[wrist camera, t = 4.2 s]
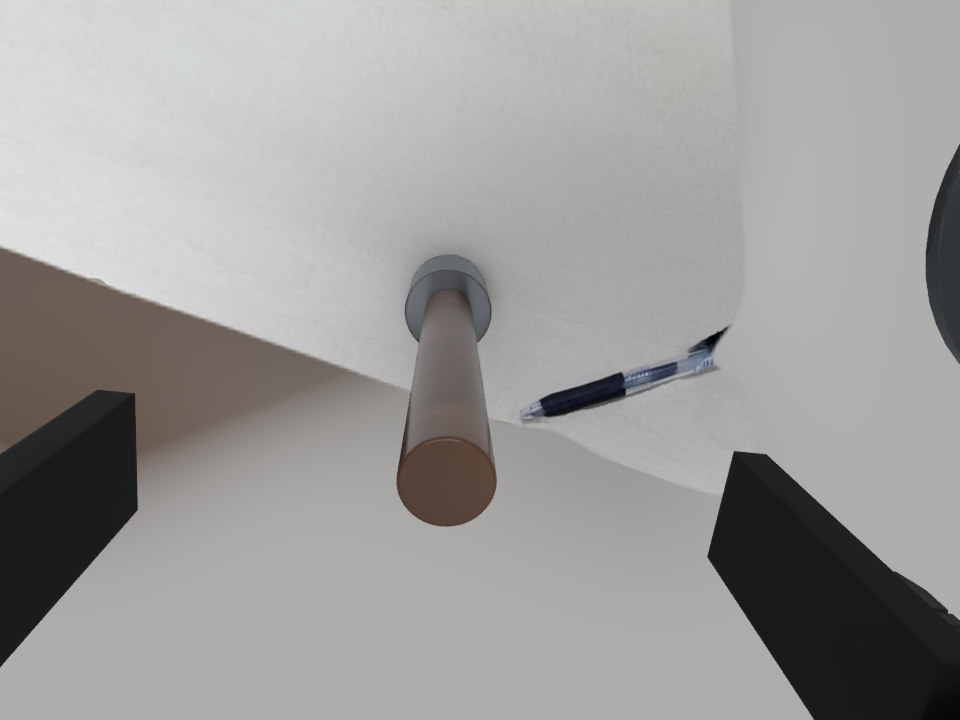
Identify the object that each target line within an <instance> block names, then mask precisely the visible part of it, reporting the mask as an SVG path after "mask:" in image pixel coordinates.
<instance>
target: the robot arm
mask: <svg viewBox="0 0 960 720" xmlns="http://www.w3.org/2000/svg"><path fill="white" fill-rule="evenodd" d="M136 459H137V458H136V416H135V394H134V393H125V392H114V391H103V390H96V391H95V392H93V393H92V394H90V395H89V396H87V397H86V398H84V399H83V400H81V401H80V402H78V403H77V404H75V405H74V406H72V407H71V408H69V409H68V410H66V411H65V412H63V413H62V414H60V415H59V416H57V417H56V418H54V419H53V420H51V421H50V422H48V423H47V424H45V425H44V426H42V427H41V428H39V429H38V430H36V431H34V432H33V433H32V434H30V435H28V436H27V437H25V438H24V439H22V440H21V441H20V442H18V443H17V444H15V445H13V446H12V447H10V448H9V449H7V450H6V451H5V452H3V453H1V454H0V667H1V666H2V665H3V663H4V662H5V661H6V660H7V659H8V658H9V656H10V655H11V654H12V653H13V652H14V651H15V650H16V649H17V647H18V646H19V645H20V644H21V643H22V642H23V641H24V639H25V638H26V637H27V636H28V635H29V634H30V632H31V631H32V630H33V629H34V628H35V626H36V625H38V623H39V622H40V621H41V620H42V619H43V618H44V616H45V615H46V614H47V613H48V612H49V611H50V610H51V608H52V607H53V606H54V605H55V604H56V603H57V601H58V600H59V599H60V598H61V597H62V596H63V595H64V594H65V592H66V591H67V590H68V589H69V588H70V587H71V586H72V585H73V583H74V582H75V581H76V580H77V579H78V578H79V577H80V575H81V574H82V573H83V572H84V571H85V570H86V568H87V567H88V566H89V565H90V564H91V563H92V561H93V560H94V559H95V558H96V557H97V556H98V555H99V554H100V552H101V551H102V550H103V549H104V548H105V547H106V546H107V544H108V543H109V542H110V541H111V539H113V538H114V536H115V535H116V534H117V533H118V532H119V531H120V530H121V528H122V527H123V526H124V525H125V524H126V523H127V522H128V520H129V519H130V518H131V517H132V516H133V515H134V514H135V512H136V511H137V510H138V500H137V460H136ZM708 559H709V560H710V562H711V563H712V565H713V566H714V568H715V569H716V571H717V572H718V574H719V575H720V577H721V579H722V580H723V582H724V583H725V585H726V586H727V588H728V589H729V591H730V592H731V594H732V595H733V597H734V598H735V600H736V601H737V603H738V604H739V606H740V607H741V609H742V610H743V612H744V613H745V615H746V617H747V618H748V620H749V621H750V622H751V624H752V626H753V627H754V629H755V630H756V632H757V633H758V635H759V636H760V638H761V639H762V641H763V643H764V644H765V645H766V647H767V648H768V650H769V652H770V653H771V655H772V656H773V658H774V659H775V661H776V662H777V664H778V665H779V667H780V668H781V670H782V671H783V673H784V674H785V676H786V678H787V679H788V681H789V682H790V684H791V685H792V686H793V688H794V690H795V691H796V693H797V694H798V696H799V697H800V699H801V700H802V702H803V703H804V705H805V706H806V708H807V709H808V711H809V713H810V714H811V716H812V717H813V719H814V720H960V620H959V619H957V618H956V617H955V616H954V615H953V614H948V610H947V609H946V608H945V607H944V606H943V605H942V604H941V603H940V602H938V601H937V600H936V599H935V598H934V597H933V596H932V595H931V594H930V593H928V592H927V591H926V590H925V589H923V588H922V587H920V586H918V585H916V584H915V583H913V582H912V581H910V580H908V579H907V578H905V577H904V576H902V575H900V574H899V573H897V572H893V571H892V570H891V569H890V568H889V567H887V565H886V564H884V563H883V562H882V561H881V560H880V559H879V558H878V557H877V556H876V555H875V554H874V553H872V551H870V550H869V549H868V548H867V547H866V546H865V545H864V544H863V543H861V541H860V540H858V539H857V538H856V537H855V536H854V535H853V534H852V533H851V532H850V531H849V530H848V529H847V528H845V527H844V526H843V525H842V524H841V523H840V522H839V521H838V520H837V519H836V518H835V517H833V515H831V514H830V513H829V512H828V511H827V510H826V509H825V508H824V507H823V506H822V505H820V504H819V503H818V502H817V501H816V500H815V499H814V498H813V497H812V496H811V495H810V494H809V493H808V492H806V491H805V490H804V489H803V488H802V487H801V486H800V485H799V484H798V483H797V482H796V481H795V480H793V479H792V478H791V477H790V476H789V475H788V474H787V473H786V472H785V471H784V470H783V469H782V468H780V467H779V466H778V465H777V464H776V463H775V462H774V461H773V460H772V459H771V458H770V457H769V456H768V455H766V454H758V453H747V452H737V451H734V453H733V457H732V461H731V465H730V469H729V473H728V477H727V481H726V485H725V489H724V493H723V497H722V501H721V505H720V509H719V513H718V517H717V520H716V525H715V529H714V532H713V536H712V540H711V545H710V548H709V552H708Z"/></svg>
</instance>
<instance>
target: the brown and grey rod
mask: <svg viewBox="0 0 960 720" xmlns="http://www.w3.org/2000/svg"><path fill="white" fill-rule="evenodd" d="M405 318H406V323H407V326H408V328H409V330H410V332H411V334H412V335H413V337H414V338H415V339H416V340H417V341H418V342H419V346H418V352H417V358H416V364H415V370H414V376H413V382H412V388H411V394H410V401H409V406H408V412H407V418H406V425H405V430H404V437H403V442H402V449H401V454H400V460H399V466H398V472H397V490H398V494H399V496H400V499H401V500H402V502H403V504H404V506H405V507H406V508H407V509H408V510H409V511H410V512H411V513H412V514H413V515H414V516H415V517H417V518H418V519H420V520H422V521H423V522H426V523H429V524H432V525H436V526H447V527H448V526H456V525H461V524H464V523H466V522H469V521H471V520H473V519H474V518H476V517H477V516H479V515H480V514H481V513H482V512H483V511H484V510H485V509H486V508H487V506H488V505H489V504H490V502H491V500H492V498H493V496H494V493H495V490H496V483H497V481H496V480H497V479H496V470H495V463H494V456H493V450H492V443H491V436H490V429H489V422H488V416H487V409H486V402H485V395H484V388H483V382H482V375H481V368H480V361H479V355H478V348H477V343H478V342H479V341H480V340H481V339H482V337H483V336H484V334H485V333H486V331H487V329H488V327H489V324H490V320H491V304H490V299H489V296H488V292H487V289H486V285H485V282H484V279H483V277H482V275H481V273H480V271H479V270H478V269H477V268H476V266H475V265H473V264H472V263H471V262H470V261H468V260H467V259H464V258H462V257H459V256H455V255H441V256H437V257H434V258H432V259H430V260H428V261H427V262H425V263H424V264H423V265H422V266H421V267H420V268H419V269H418V271H417V272H416V274H415V276H414V278H413V281H412V284H411V287H410V291H409V294H408V297H407V300H406V305H405Z"/></svg>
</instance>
